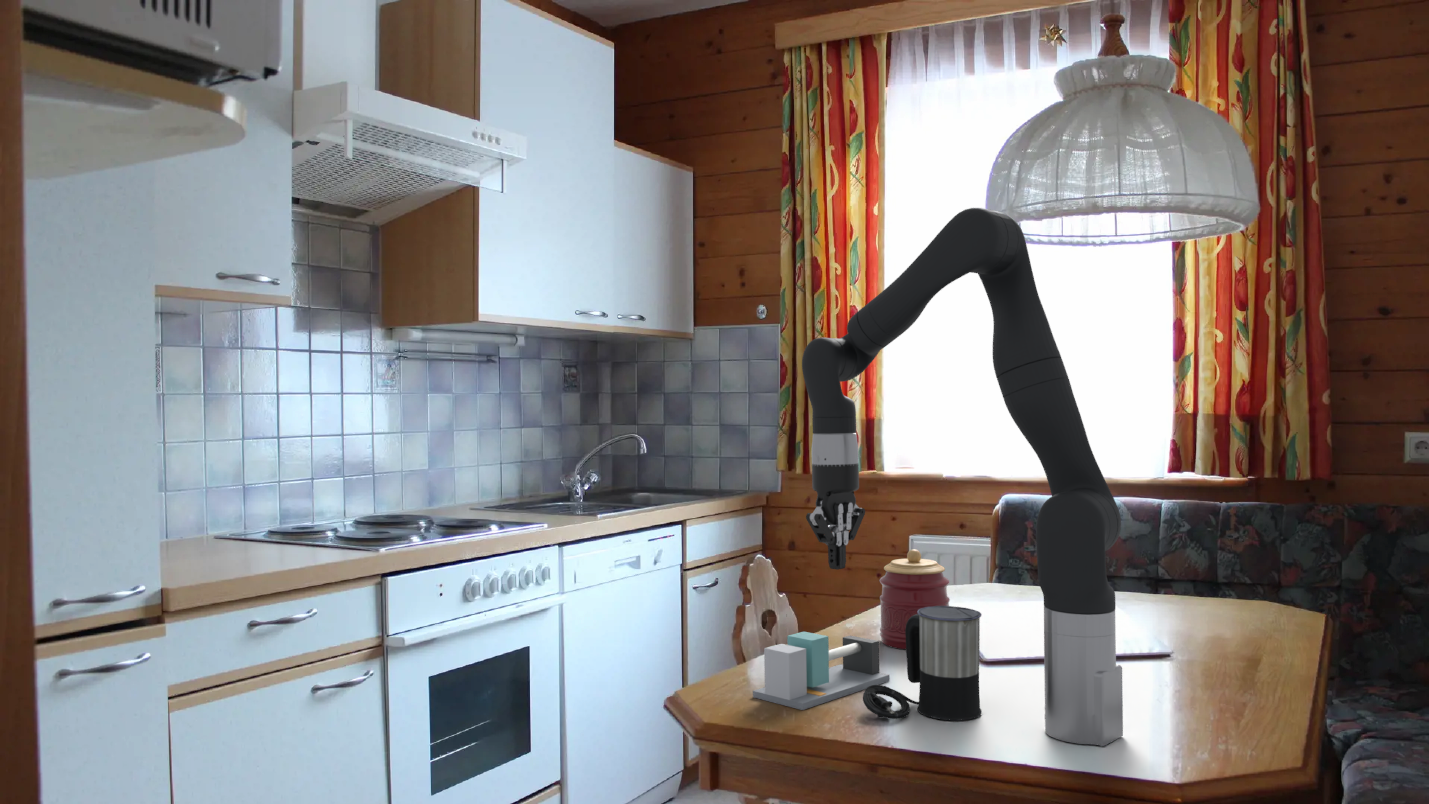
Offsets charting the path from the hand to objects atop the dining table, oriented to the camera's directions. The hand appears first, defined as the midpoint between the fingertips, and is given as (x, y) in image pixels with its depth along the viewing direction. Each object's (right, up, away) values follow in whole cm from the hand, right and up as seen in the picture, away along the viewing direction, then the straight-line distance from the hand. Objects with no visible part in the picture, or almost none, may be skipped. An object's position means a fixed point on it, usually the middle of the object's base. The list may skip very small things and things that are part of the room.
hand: (837, 568), depth 169 cm
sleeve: (-5, -17, -5) cm, 18 cm away
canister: (+18, -19, +28) cm, 38 cm away
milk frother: (+11, -19, -16) cm, 27 cm away
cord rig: (-3, -19, -3) cm, 19 cm away
